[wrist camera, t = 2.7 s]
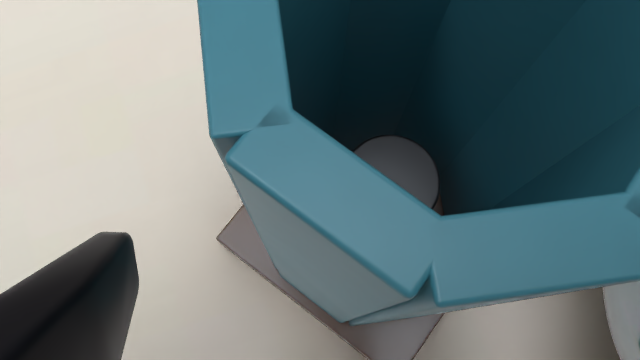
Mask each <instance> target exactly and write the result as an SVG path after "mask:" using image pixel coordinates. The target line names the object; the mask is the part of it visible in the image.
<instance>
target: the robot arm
mask: <svg viewBox="0 0 640 360" xmlns="http://www.w3.org/2000/svg"><path fill="white" fill-rule="evenodd" d="M138 288H139V276H138V270H137V264H136V258H135V252H134V245H133V240H132V238H131V236H130V235H129V234H128V233H122V232H101V233H98V234H96V235H95V236H93V237H92V238H90V239H88V240H87V241H85V242H84V243H82V244H80V245H79V246H77V247H75V248H74V249H72V250H71V251H69V252H67V253H66V254H64V255H63V256H61V257H59V258H58V259H56V260H55V261H53V262H51V263H50V264H48V265H47V266H45V267H43V268H42V269H40V270H38V271H37V272H35V273H34V274H32V275H30V276H29V277H27V278H26V279H24V280H22V281H21V282H19V283H18V284H16V285H14V286H13V287H11V288H10V289H8V290H6V291H5V292H3V293H2V294H0V360H121V357H122V353H123V349H124V345H125V341H126V337H127V334H128V330H129V326H130V322H131V318H132V314H133V310H134V306H135V302H136V298H137V294H138Z"/></svg>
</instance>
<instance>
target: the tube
mask: <svg viewBox="0 0 640 360" xmlns="http://www.w3.org/2000/svg"><path fill="white" fill-rule="evenodd" d="M197 3H198V14H199V25H200V36H201V47H202V58H203V70H204V81H205V92H206V103H207V114H208V125H209V135H210V137H211V139H212V141H213V144H214V146H215V148H216V150H217V152H218V154H219V156H220V158H221V160H222V162H223V164H224V166H225V168H226V170H227V172H228V174H229V176H230V178H231V180H232V182H233V184H234V186H235V188H236V190H237V192H238V194H239V196H240V198H241V200H242V202H243V204H244V206H245V208H246V210H247V212H248V214H249V216H250V218H251V220H252V222H253V224H254V226H255V228H256V230H257V232H258V234H259V236H260V238H261V240H262V242H263V244H264V246H265V248H266V250H267V252H268V254H269V256H270V258H271V260H272V262H273V264H274V266H275V268H276V269H277V270H278V272H279V274H280V276H281V277H282V278H283V279H284V280H285V281H287V282H288V283H289V284H291V285H292V286H293V287H294V288H296V289H297V290H298V291H300V292H301V293H302V294H303V295H305V296H306V297H307V298H309V299H310V300H311V301H312V302H314V303H315V304H316V305H318V306H319V307H320V308H321V309H323V310H324V311H325V312H327V313H328V314H329V315H330V316H332V317H333V318H334V319H336V320H337V321H338V322H339V323H343V322H346V321H349V325H350V326H355V325H362V324H369V323H377V322H384V321H391V320H398V319H405V318H412V317H419V316H426V315H432V314H438V313H444V312H451V311H457V310H463V309H469V308H475V307H482V306H488V305H494V304H500V303H506V302H513V301H519V300H525V299H531V298H537V297H544V296H550V295H556V294H562V293H568V292H575V291H581V290H587V289H593V288H600V287H606V286H612V285H618V284H624V283H631V282H637V281H640V0H197ZM380 135H398V136H403V137H406V138H409V139H411V140H413V141H415V142H417V143H418V144H420V145H421V146H422V147H423V148H425V150H426V151H427V152H428V153H429V154H430V155H431V157H432V158H433V160H434V161H435V163H436V165H437V168H438V171H439V175H440V196H441V201H442V206H443V211H444V216H441V215H439V214H438V213H437V212H435V211H434V210H432V209H431V208H430V207H428V206H427V205H425V204H424V203H423V202H421V201H420V200H419V199H417V198H416V197H414V196H413V195H412V194H410V193H409V192H407V191H406V190H405V189H403V188H402V187H400V186H399V185H398V184H396V183H395V182H394V181H392V180H391V179H389V178H388V177H387V176H385V175H384V174H382V173H381V172H380V171H378V170H377V169H375V168H374V167H373V166H371V165H370V164H369V163H367V162H366V161H364V160H363V159H362V158H360V157H359V156H357V155H356V154H355V153H353V152H352V151H350V150H354V149H355V148H356V147H357V146H358V145H359V144H361V143H362V142H364V141H365V140H368V139H370V138H372V137H375V136H380Z"/></svg>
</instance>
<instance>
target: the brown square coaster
mask: <svg viewBox="0 0 640 360" xmlns="http://www.w3.org/2000/svg"><path fill="white" fill-rule="evenodd" d="M350 151H352V152H353V153H355V154H356V155H357V156H359V157H360V158H362V159H363V160H364V161H366V162H367V163H369V164H370V165H371V166H373V167H374V168H375V169H377V170H378V171H380V172H381V173H382V174H384V175H385V176H387V177H388V178H389V179H391V180H392V181H394V182H395V183H396V184H398V185H399V186H400V187H402V188H403V189H405V190H406V191H407V192H409V193H410V194H412V195H413V196H414V197H416V198H417V199H419V200H420V201H421V202H423V203H424V204H425V205H427V206H428V207H430V208H431V209H432V210H434V211H435V212H437V213H438V214H439V215H441V216H444V211H443V206H442V201H441V196H440V175H439V171H438V168H437V165H436V163H435V161H434V160H433V158H432V157H431V155H430V154H429V153H428V152H427V151H426V150H425V148H423V147H422V146H421V145H420V144H418V143H417V142H415V141H413V140H411V139H409V138H406V137H403V136H398V135H380V136H375V137H372V138H370V139H368V140H365V141H364V142H362V143H361V144H359V145H358V146H357V147H356V148H355V149H354V150H350ZM216 239H217V240H218V241H219V242H220V243H221V244H222V245H223V246H224V247H225V248H227V249H228V250H229V251H231V252H232V253H233V254H234V255H236V256H237V257H238V258H239V259H241V260H242V261H243V262H245V263H246V264H247V265H248V266H250V267H251V268H252V269H254V270H255V271H256V272H257V273H259V274H260V275H261V276H262V277H264V278H265V279H266V280H268V281H269V282H270V283H271V284H273V285H274V286H275V287H277V288H278V289H279V290H280V291H282V292H283V293H284V294H285V295H287V296H288V297H289V298H291V299H292V300H293V301H294V302H296V303H297V304H298V305H300V306H301V307H302V308H303V309H305V310H306V311H307V312H308V313H310V314H311V315H312V316H314V317H315V318H316V319H317V320H319V321H320V322H321V323H323V324H324V325H325V326H326V327H328V328H329V329H330V330H331V331H333V332H334V333H335V334H337V335H338V336H339V337H340V338H342V339H343V340H344V341H346V342H347V343H348V344H349V345H351V346H352V347H353V348H354V349H356V350H357V351H358V352H360V353H361V354H362V355H363V356H365V357H366V358H367V359H369V360H413V358H414V357H415V355H416V354H417V352H418V351H419V349H420V348H421V347H422V345H423V344H424V342H425V341H426V339H427V338H428V336H429V335H430V333H431V332H432V330H433V329H434V327H435V326H436V324H437V323H438V321H439V320H440V319H441V317H442V316H443V314H444V313H445V312H444V313H438V314H432V315H426V316H419V317H412V318H405V319H398V320H391V321H384V322H377V323H369V324H362V325H355V326H350V325H349V321H346V322H343V323H339V322H338V321H337V320H336V319H334V318H333V317H332V316H330V315H329V314H328V313H327V312H325V311H324V310H323V309H321V308H320V307H319V306H318V305H316V304H315V303H314V302H312V301H311V300H310V299H309V298H307V297H306V296H305V295H303V294H302V293H301V292H300V291H298V290H297V289H296V288H294V287H293V286H292V285H291V284H289V283H288V282H287V281H285V280H284V279H283V278H282V277H281V276H280V274H279V272H278V270H277V269H276V268H275V266H274V264H273V262H272V260H271V258H270V256H269V254H268V252H267V250H266V248H265V246H264V244H263V242H262V240H261V238H260V236H259V234H258V232H257V230H256V228H255V226H254V224H253V222H252V220H251V218H250V216H249V214H248V212H247V210H246V208H245V206H244V205H243V206H242V207H241V208H240V209H239V211H238V212H237V213H236V214H235V216H234V217H233V218H232V219H231V220H230V222H229V223H228V224H227V225H226V227H225V228H224V229H223V230H222V231H221V233H220V234H219V235H218V236H217V238H216Z"/></svg>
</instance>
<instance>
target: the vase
mask: <svg viewBox="0 0 640 360" xmlns="http://www.w3.org/2000/svg"><path fill="white" fill-rule="evenodd" d="M603 296H604V304H605V311H606V316H607V320H608V325H609V329H610V332H611V335H612V338H613V342H614V345H615V348H616V350H617V353H618V355H619V358H620V360H640V281H637V282H631V283H624V284H618V285H612V286H606V287H603Z"/></svg>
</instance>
